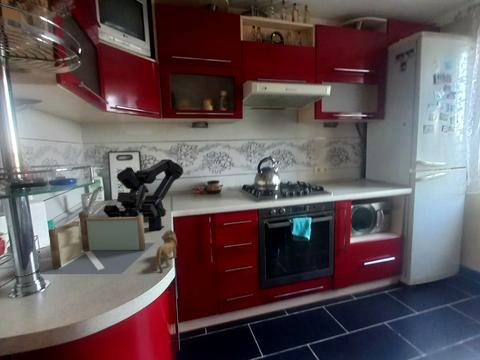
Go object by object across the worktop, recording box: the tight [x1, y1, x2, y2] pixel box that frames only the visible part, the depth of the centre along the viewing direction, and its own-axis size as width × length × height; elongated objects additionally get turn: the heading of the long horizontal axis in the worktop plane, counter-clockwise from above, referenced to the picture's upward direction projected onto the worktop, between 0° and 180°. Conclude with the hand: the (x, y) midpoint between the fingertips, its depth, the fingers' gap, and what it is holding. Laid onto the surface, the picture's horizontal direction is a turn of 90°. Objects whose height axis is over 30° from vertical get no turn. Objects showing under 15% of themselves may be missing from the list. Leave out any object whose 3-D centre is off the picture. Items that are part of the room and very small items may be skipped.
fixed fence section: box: [48, 210, 90, 270], centre depth 81 cm, size 16×3×14 cm, turn 177°
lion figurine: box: [154, 229, 178, 274], centre depth 76 cm, size 15×5×9 cm, turn 6°
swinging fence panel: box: [86, 214, 146, 250], centre depth 87 cm, size 2×20×12 cm, turn 87°
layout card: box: [39, 242, 155, 275], centre depth 83 cm, size 24×26×1 cm
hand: (124, 231), depth 89 cm, fingers closed
